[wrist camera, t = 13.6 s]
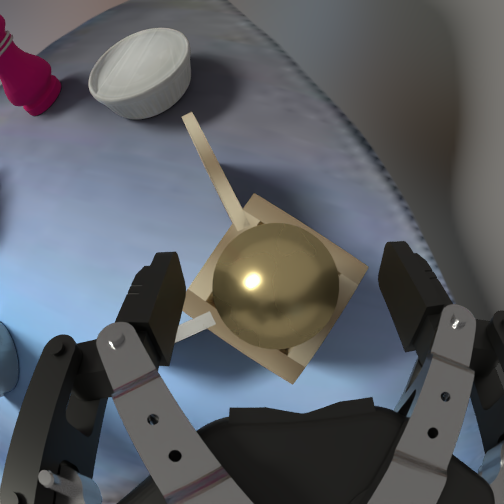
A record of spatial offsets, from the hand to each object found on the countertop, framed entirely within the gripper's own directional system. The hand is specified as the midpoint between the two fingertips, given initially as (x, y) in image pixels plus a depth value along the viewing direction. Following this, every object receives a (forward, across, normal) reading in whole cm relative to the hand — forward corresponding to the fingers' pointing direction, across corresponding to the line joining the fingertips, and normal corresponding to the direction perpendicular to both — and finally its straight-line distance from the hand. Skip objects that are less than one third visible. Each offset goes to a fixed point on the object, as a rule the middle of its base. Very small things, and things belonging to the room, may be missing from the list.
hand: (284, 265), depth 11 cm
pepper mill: (+28, -30, +9) cm, 42 cm away
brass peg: (+9, 0, -10) cm, 13 cm away
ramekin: (+25, -12, +6) cm, 28 cm away
